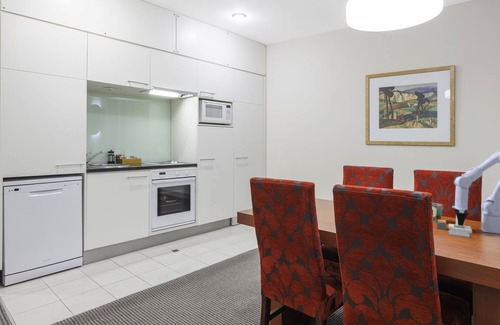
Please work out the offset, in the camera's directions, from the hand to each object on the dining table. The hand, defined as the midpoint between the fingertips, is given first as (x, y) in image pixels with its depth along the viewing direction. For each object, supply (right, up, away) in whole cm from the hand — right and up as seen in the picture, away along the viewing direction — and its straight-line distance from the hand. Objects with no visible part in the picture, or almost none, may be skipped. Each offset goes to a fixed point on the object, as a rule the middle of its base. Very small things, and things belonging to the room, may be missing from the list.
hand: (460, 223), depth 174 cm
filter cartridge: (0, -3, 0) cm, 3 cm away
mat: (-6, -4, -9) cm, 11 cm away
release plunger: (-9, -2, +2) cm, 9 cm away
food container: (-1, -2, +20) cm, 21 cm away
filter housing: (-2, -3, +2) cm, 4 cm away
